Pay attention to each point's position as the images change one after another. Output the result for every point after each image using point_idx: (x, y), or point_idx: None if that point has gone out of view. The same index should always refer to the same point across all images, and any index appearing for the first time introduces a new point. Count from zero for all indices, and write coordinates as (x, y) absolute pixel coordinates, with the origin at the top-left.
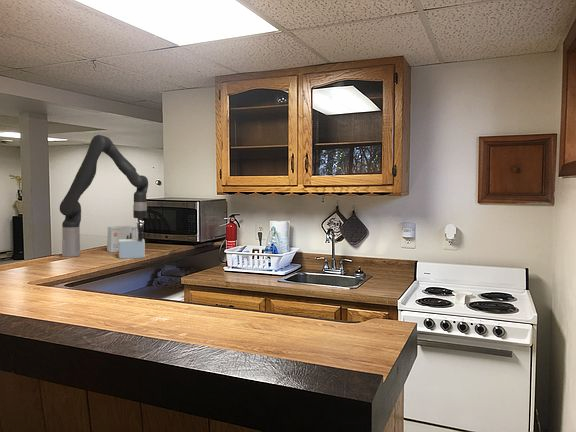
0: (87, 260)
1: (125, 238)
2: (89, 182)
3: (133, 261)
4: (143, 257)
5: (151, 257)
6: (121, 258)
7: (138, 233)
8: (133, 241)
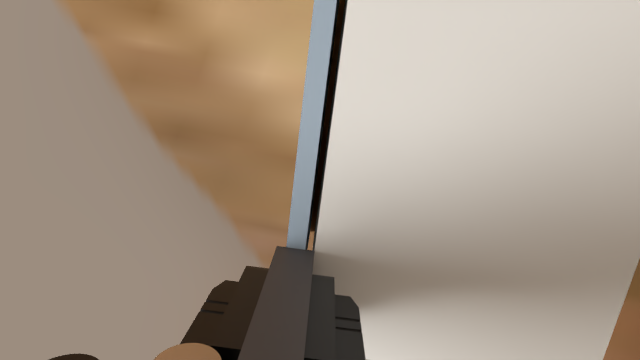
0: None
1: None
2: None
3: (122, 94)
4: (315, 226)
5: None
6: (344, 8)
7: (208, 343)
8: (296, 166)
